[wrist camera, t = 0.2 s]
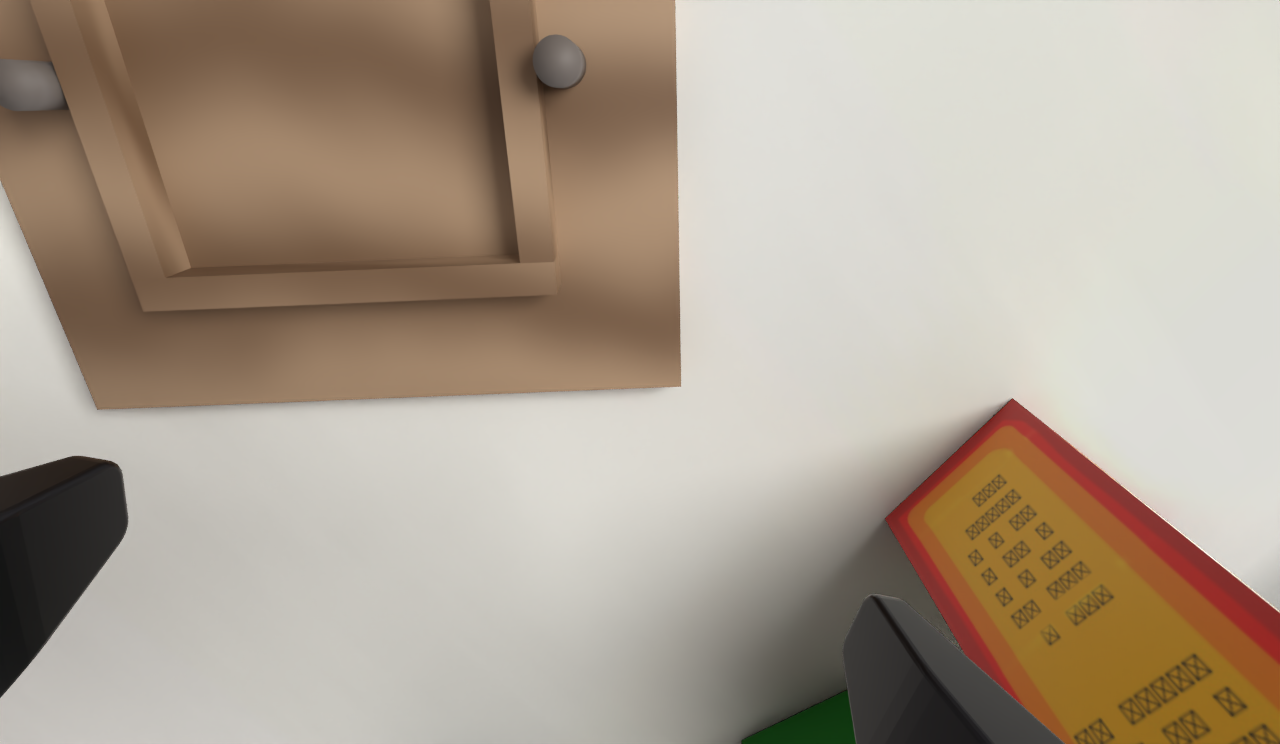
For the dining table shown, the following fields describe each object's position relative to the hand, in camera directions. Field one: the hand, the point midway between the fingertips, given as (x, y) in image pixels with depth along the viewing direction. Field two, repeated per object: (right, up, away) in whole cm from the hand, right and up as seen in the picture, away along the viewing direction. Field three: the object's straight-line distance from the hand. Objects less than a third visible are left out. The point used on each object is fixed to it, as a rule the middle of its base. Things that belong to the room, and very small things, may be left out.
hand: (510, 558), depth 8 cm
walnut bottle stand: (-7, +11, +11) cm, 17 cm away
